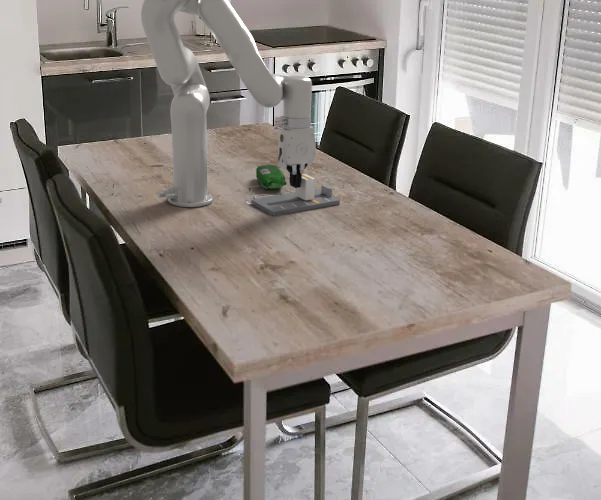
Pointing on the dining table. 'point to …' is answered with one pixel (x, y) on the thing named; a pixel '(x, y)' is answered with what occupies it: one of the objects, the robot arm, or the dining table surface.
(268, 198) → the console
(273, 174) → the snack package
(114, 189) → the dining table surface
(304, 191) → the fader tab
